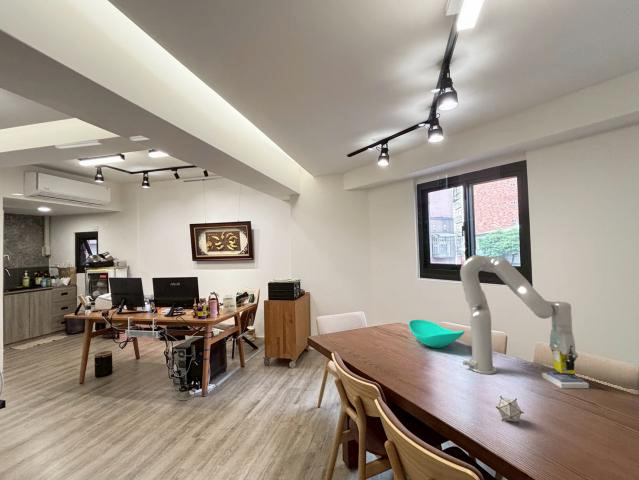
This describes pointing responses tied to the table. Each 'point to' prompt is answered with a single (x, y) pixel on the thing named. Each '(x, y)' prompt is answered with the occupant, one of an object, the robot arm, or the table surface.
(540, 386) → the table surface
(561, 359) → the supplement box
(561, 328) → the robot arm
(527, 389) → the table surface
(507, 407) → the grey icosahedron
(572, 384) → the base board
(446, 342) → the table top decor
